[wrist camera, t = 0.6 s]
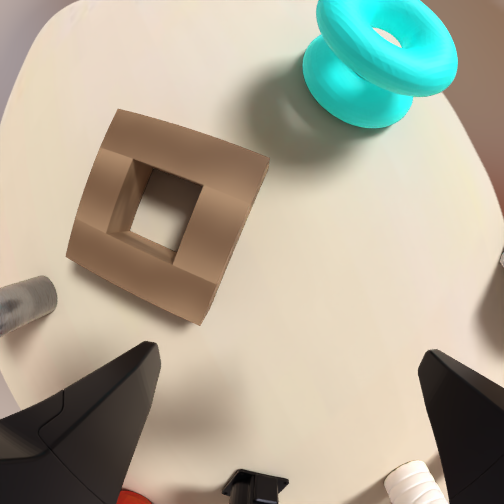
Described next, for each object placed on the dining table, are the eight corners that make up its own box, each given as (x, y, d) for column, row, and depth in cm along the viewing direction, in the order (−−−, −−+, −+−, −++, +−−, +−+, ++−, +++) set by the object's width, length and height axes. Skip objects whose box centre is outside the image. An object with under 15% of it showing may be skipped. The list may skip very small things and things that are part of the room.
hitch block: (210, 308, 22) (200, 325, 18) (91, 251, 22) (65, 256, 18) (268, 169, 21) (269, 158, 17) (138, 123, 21) (118, 108, 17)
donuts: (486, 73, 10) (394, 105, 11) (422, 112, 20) (341, 150, 21) (398, -30, 9) (286, -19, 10) (364, 31, 19) (278, 58, 20)
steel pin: (55, 318, 23) (-32, 366, 10) (31, 301, 23) (-53, 337, 10) (59, 286, 23) (-38, 323, 10) (35, 269, 23) (-58, 295, 10)
